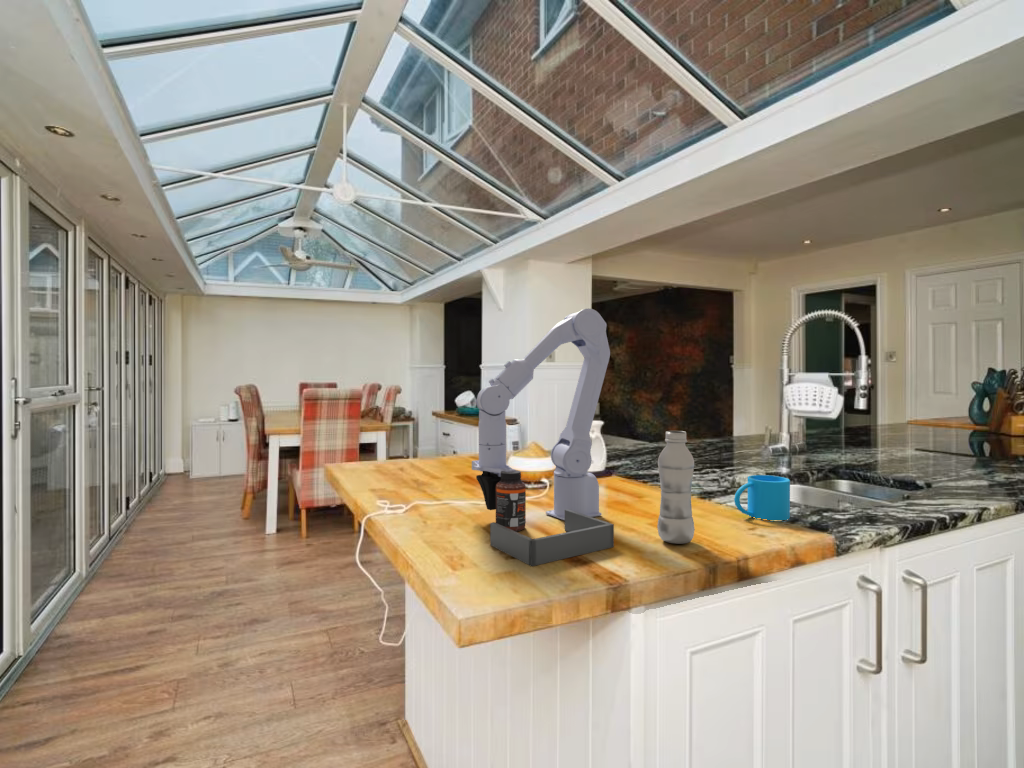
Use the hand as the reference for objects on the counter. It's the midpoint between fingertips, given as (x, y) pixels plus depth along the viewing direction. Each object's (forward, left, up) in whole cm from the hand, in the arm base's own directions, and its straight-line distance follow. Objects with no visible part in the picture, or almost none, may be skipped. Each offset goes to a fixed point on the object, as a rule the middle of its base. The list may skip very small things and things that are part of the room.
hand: (492, 509), depth 113 cm
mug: (-49, +29, -3) cm, 57 cm away
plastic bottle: (-20, +31, -3) cm, 37 cm away
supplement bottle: (0, +7, -3) cm, 7 cm away
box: (0, +20, -2) cm, 20 cm away
